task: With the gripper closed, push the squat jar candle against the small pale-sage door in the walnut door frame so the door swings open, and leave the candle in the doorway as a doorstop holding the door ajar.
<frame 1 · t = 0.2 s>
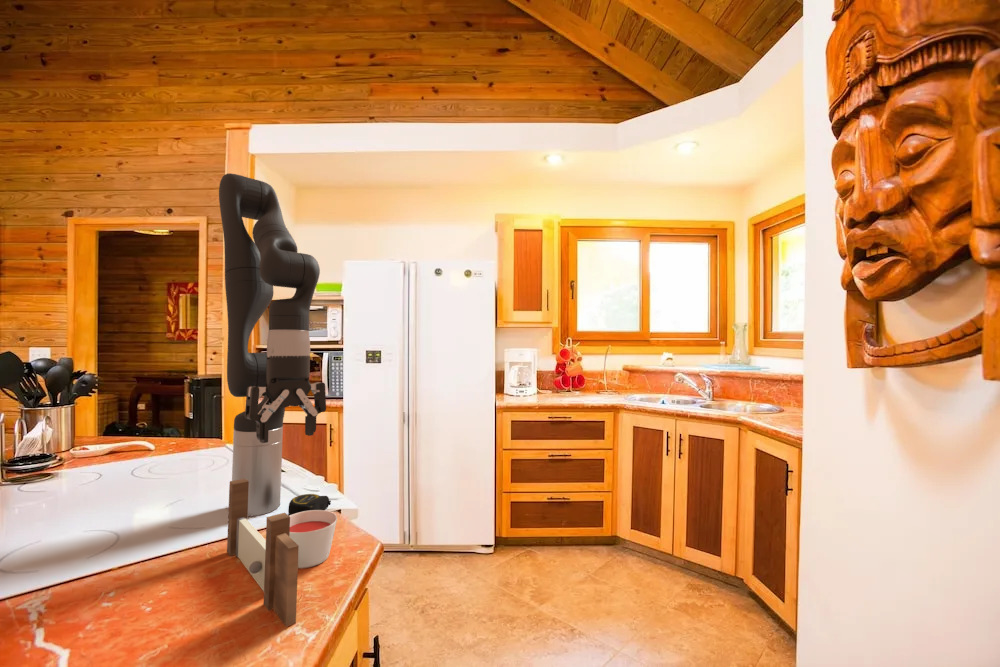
hand: (287, 438, 82), 17 cm above the countertop, tool pointing down, fingers open, 8 cm apart
door frame: (252, 573, 67), on the countertop
door: (248, 553, 67), point 3 cm above the countertop, hinge at 0.0°
tape measure: (310, 517, 89), on the countertop
candle: (307, 559, 72), on the countertop
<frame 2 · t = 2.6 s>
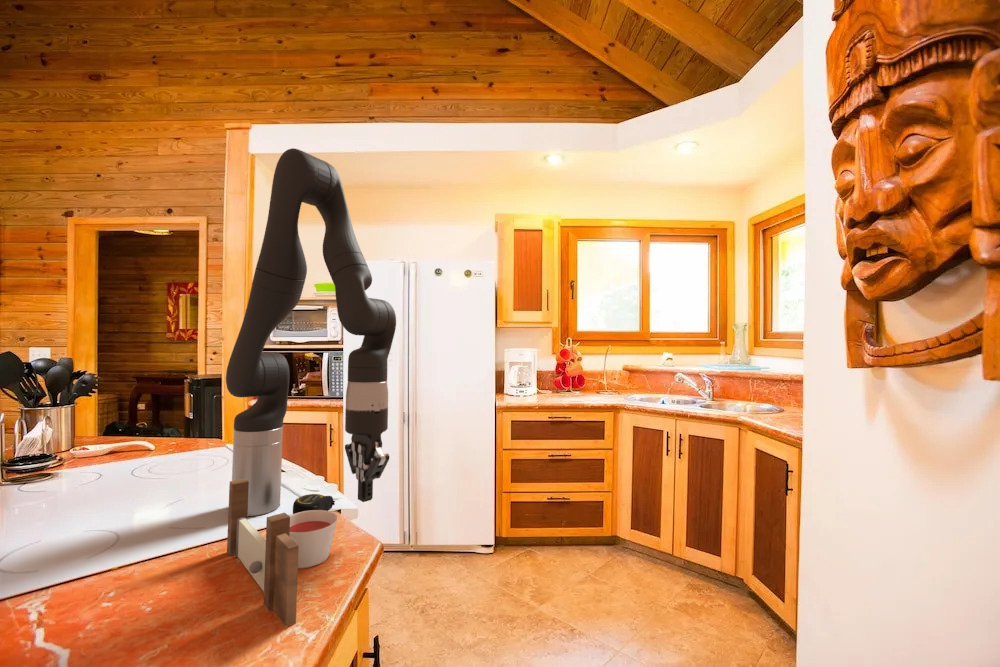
hand: (365, 500, 79), 7 cm above the countertop, tool pointing down, fingers closed
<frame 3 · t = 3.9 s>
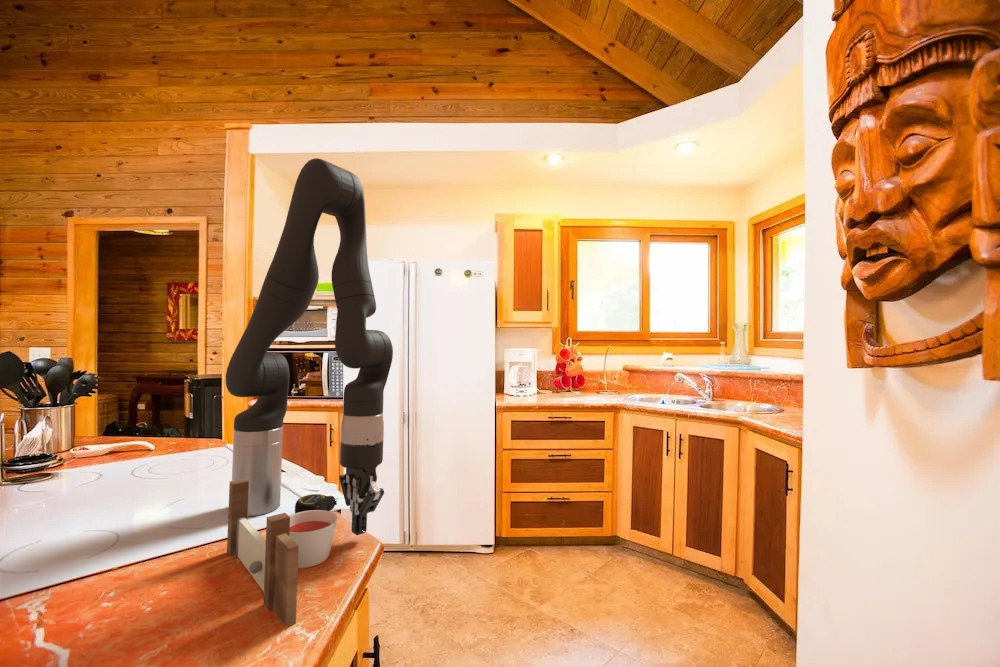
hand: (359, 532, 79), 1 cm above the countertop, tool pointing down, fingers closed
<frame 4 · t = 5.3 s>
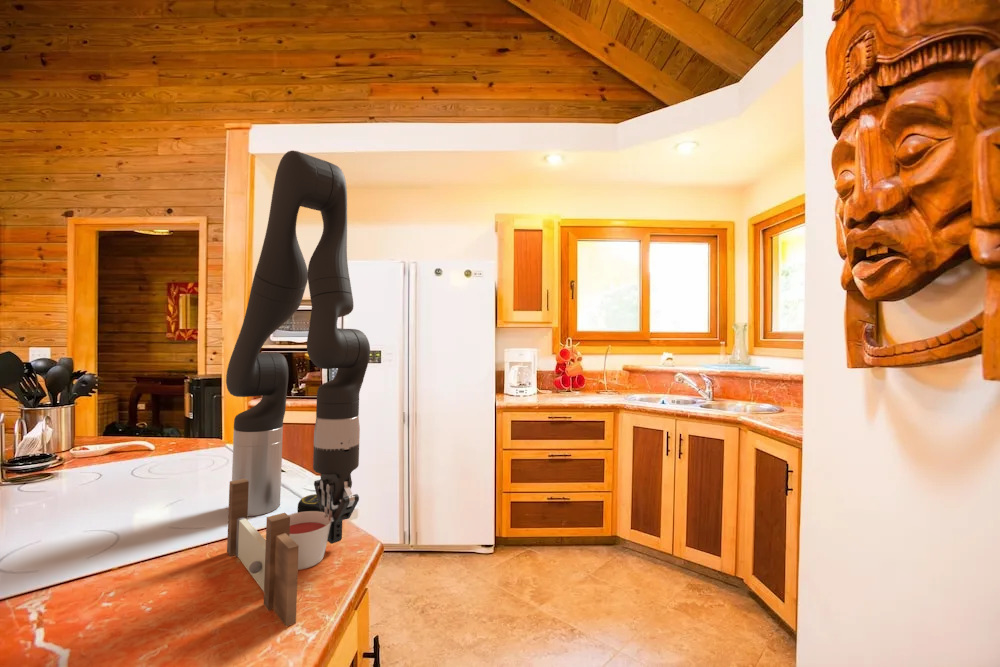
hand: (334, 540, 75), 2 cm above the countertop, tool pointing down, fingers closed
candle: (301, 561, 71), on the countertop, touching gripper
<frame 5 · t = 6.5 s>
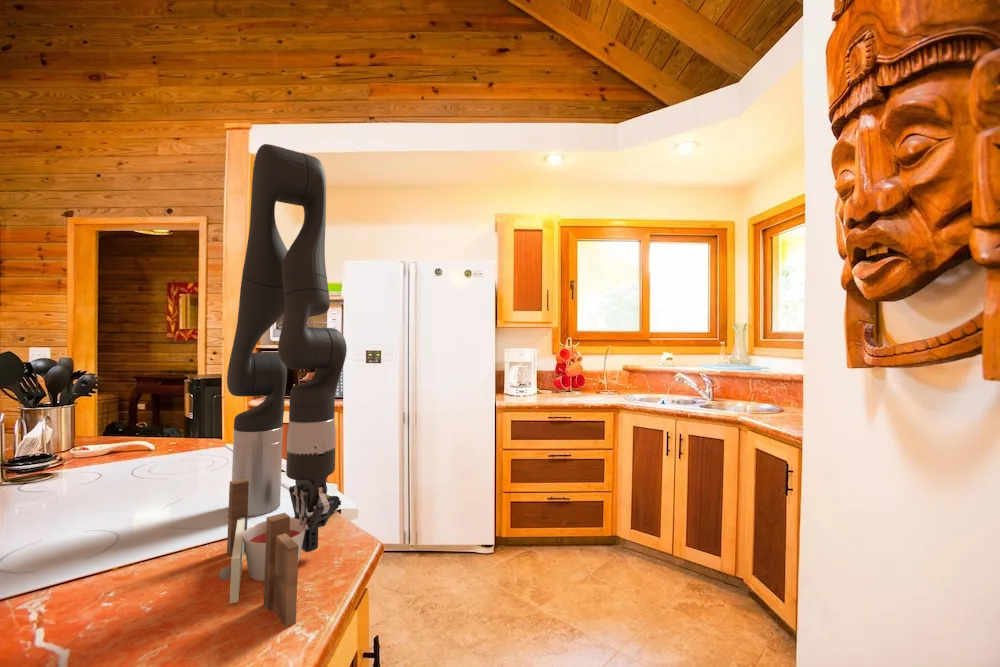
hand: (309, 549, 72), 2 cm above the countertop, tool pointing down, fingers closed
door: (232, 556, 66), point 3 cm above the countertop, hinge at 16.7°, touching candle
candle: (274, 571, 68), on the countertop, touching door, gripper
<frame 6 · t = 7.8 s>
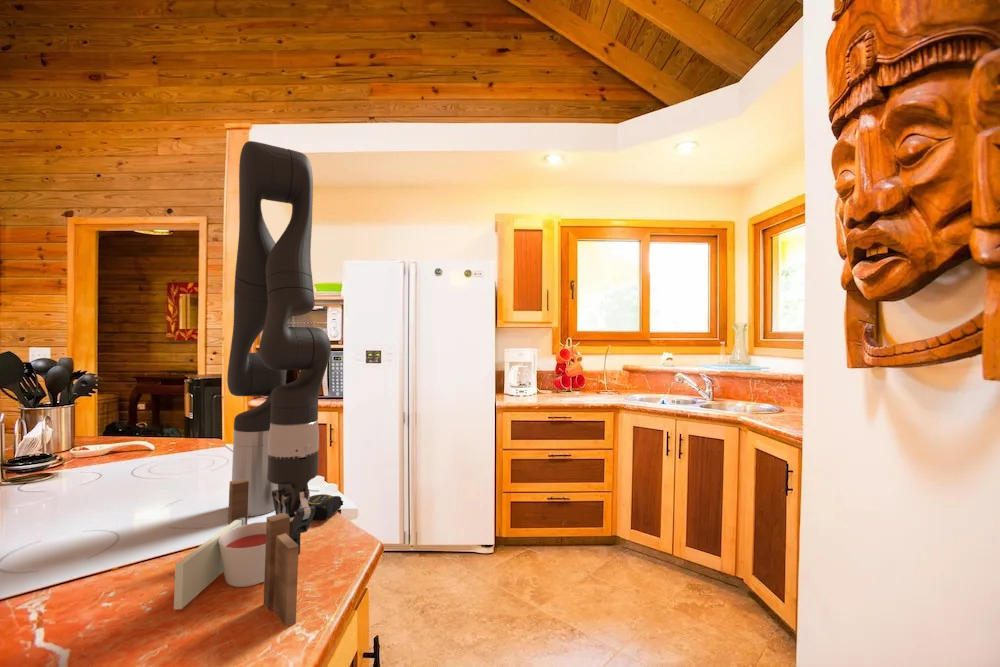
hand: (291, 555, 70), 2 cm above the countertop, tool pointing down, fingers closed
door: (209, 557, 65), point 3 cm above the countertop, hinge at 42.7°, touching candle
candle: (251, 576, 67), on the countertop, touching door, hand
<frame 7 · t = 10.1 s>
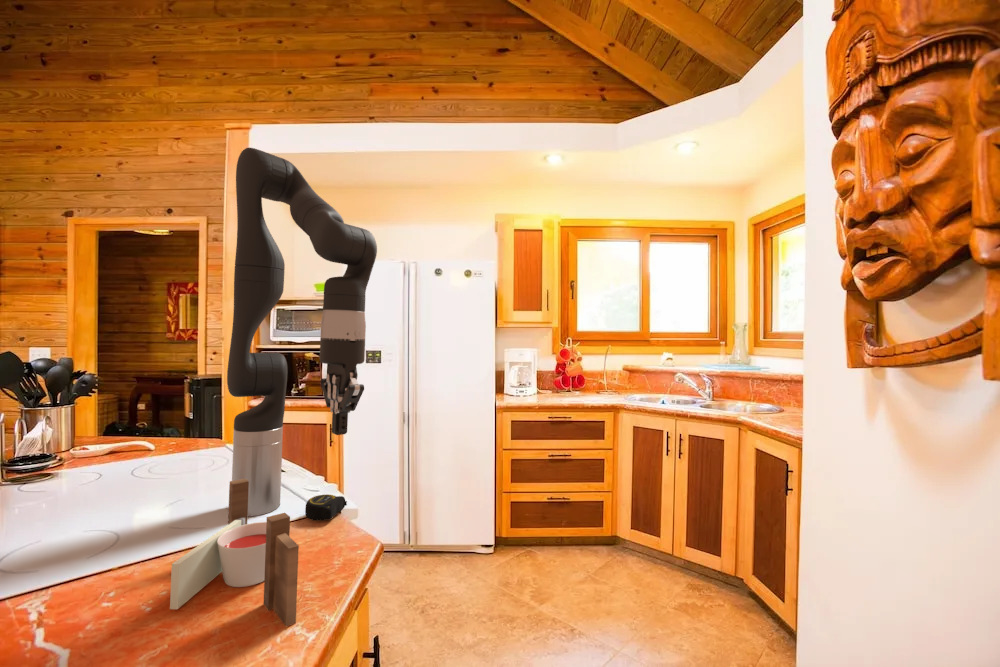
hand: (339, 433, 77), 20 cm above the countertop, tool pointing down, fingers closed
door: (208, 557, 65), point 3 cm above the countertop, hinge at 44.7°, touching candle
candle: (250, 576, 67), on the countertop, touching door
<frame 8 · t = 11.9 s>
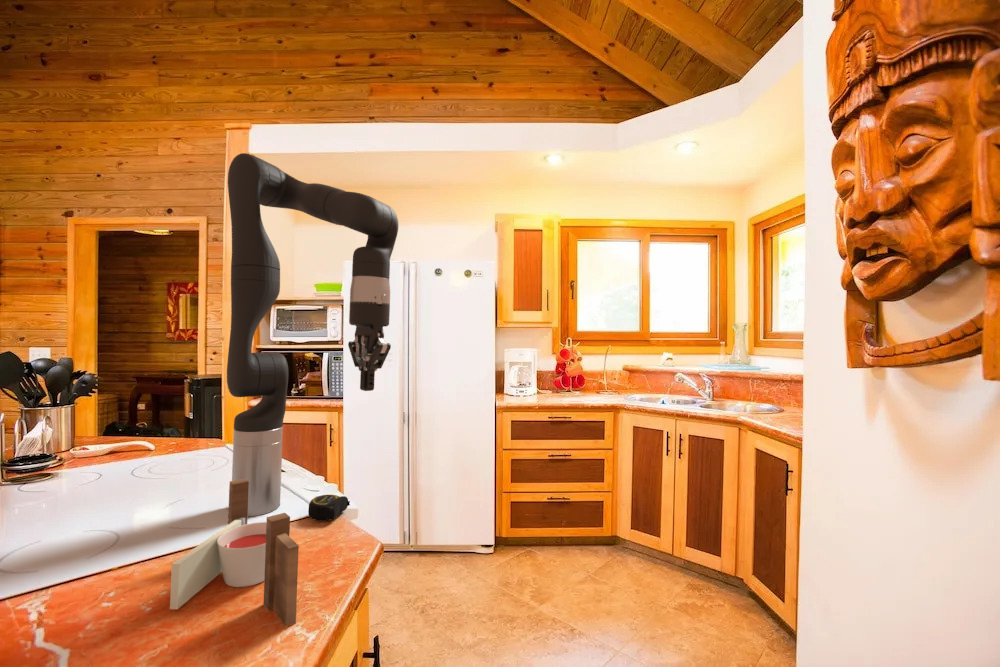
hand: (367, 390, 84), 27 cm above the countertop, tool pointing down, fingers closed
at the end: door at +45° (first picture: +0°); candle inside the target area (3.3 cm from its centre), on the countertop; candle tilted 0° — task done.
